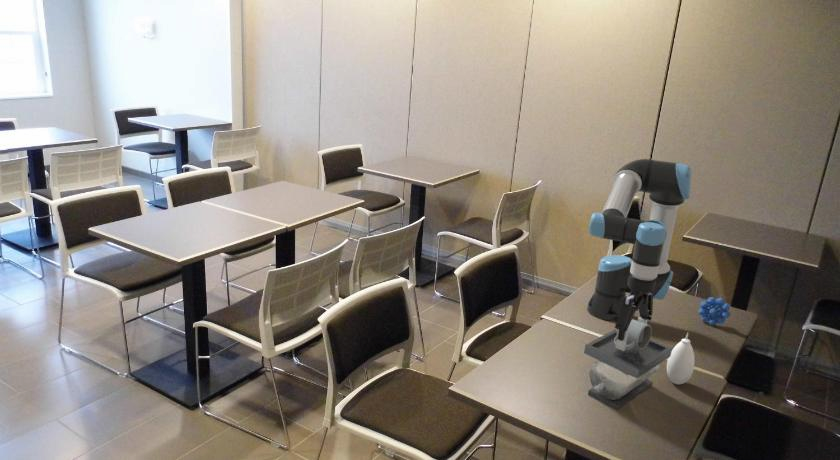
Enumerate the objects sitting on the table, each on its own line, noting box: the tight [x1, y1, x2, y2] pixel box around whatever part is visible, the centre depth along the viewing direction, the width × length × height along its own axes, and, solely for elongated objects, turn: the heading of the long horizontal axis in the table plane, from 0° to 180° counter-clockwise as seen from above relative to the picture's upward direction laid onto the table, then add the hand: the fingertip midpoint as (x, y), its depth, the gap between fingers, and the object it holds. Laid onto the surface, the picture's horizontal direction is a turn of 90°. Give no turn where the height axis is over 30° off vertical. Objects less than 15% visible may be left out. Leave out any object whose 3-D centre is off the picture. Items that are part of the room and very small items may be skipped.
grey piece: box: [583, 328, 673, 411], centre depth 185 cm, size 21×17×15 cm
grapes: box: [697, 296, 731, 326], centre depth 234 cm, size 12×7×12 cm, turn 43°
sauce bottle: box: [666, 332, 696, 385], centre depth 190 cm, size 8×8×18 cm
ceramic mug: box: [614, 318, 653, 350], centre depth 181 cm, size 11×8×8 cm
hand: (629, 343), depth 182 cm, fingers closed on ceramic mug, 10 cm apart
